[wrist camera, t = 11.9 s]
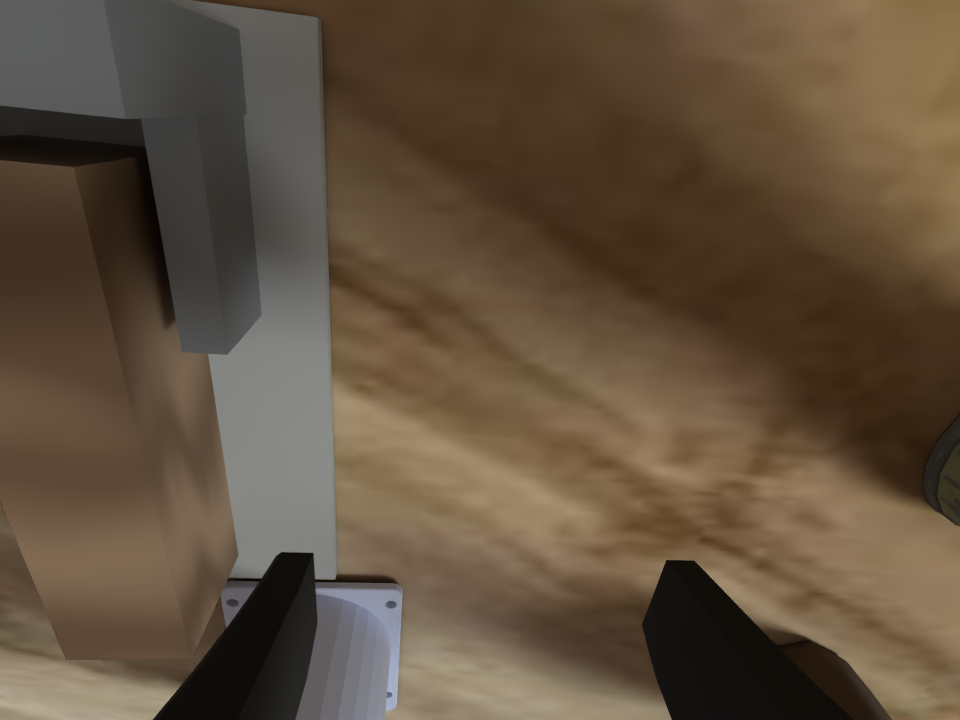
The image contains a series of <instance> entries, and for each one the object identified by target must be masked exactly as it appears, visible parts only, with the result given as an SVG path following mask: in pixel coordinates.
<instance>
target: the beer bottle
mask: <svg viewBox="0 0 960 720" xmlns="http://www.w3.org/2000/svg"><path fill="white" fill-rule="evenodd" d="M778 647H779V649H780V650H781V651H782V652H783V653H784V654H785V655H786V656H787V657H789V658H790V659H791V660H792V661H793V662H794V663H795V664H796V665H797V666H798V667H799V668H800V669H801V670H802V671H803V672H804V673H805V674H806V675H807V676H808V677H809V678H810V679H811V680H812V681H813V682H814V683H815V684H816V685H817V686H818V687H819V688H821V689H822V690H823V691H824V692H825V693H826V694H827V695H828V696H829V697H830V698H831V699H832V700H833V701H835V702H836V703H837V704H838V705H839V706H840V707H841V708H842V709H843V710H844V711H845V712H846V713H847V714H849V715H850V716H851V717H852V718H853V719H854V720H892V719H891V718H890V716H889V715H888V714H887V712H886V711H885V710H884V708H883V707H882V706H881V704H880V703H879V701H878V700H877V699H876V697H875V696H874V695H873V693H872V692H871V691H870V690H869V688H868V687H867V686H866V685H865V684H864V682H863V681H862V680H861V679H860V677H859V676H858V675H857V674H856V672H855V671H854V670H853V669H852V667H851V666H850V665H849V664H848V663H847V662H846V661H845V660H843V659H842V658H840V657H839V656H837V655H835V654H833V653H831V652H829V651H827V650H826V649H824V648H822V647H820V646H818V645H816V644H814V643H812V642H810V641H806V642H800V643H795V644H789V645H783V646H778Z"/></svg>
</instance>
